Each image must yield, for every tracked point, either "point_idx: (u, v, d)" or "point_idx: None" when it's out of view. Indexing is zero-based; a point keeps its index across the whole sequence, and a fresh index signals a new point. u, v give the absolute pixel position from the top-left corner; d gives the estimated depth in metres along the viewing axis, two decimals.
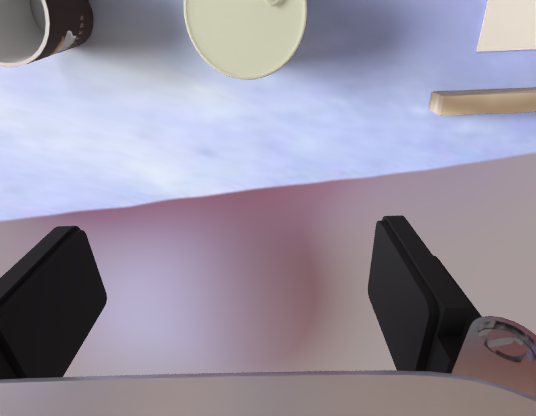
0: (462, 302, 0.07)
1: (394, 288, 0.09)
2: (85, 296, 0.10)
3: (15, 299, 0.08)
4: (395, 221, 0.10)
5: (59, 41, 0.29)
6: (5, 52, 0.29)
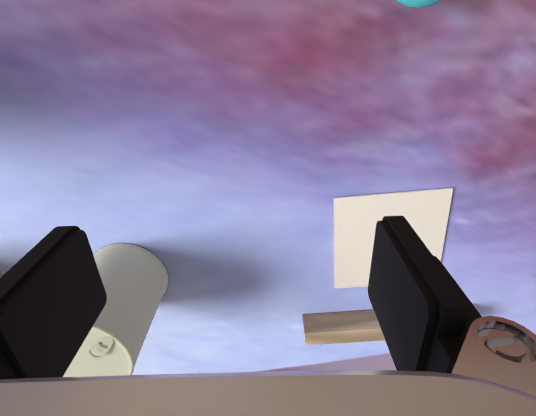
0: (462, 301, 0.07)
1: (394, 288, 0.09)
2: (85, 296, 0.10)
3: (15, 299, 0.08)
4: (395, 221, 0.10)
5: None
6: None
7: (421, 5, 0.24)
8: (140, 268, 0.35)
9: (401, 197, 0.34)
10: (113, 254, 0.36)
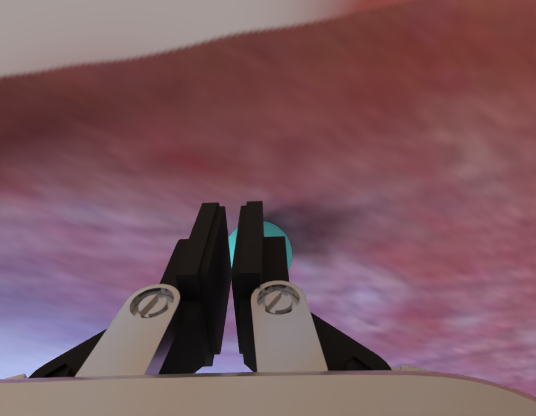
0: (256, 268, 0.08)
1: None
2: (226, 266, 0.11)
3: (208, 260, 0.09)
4: (251, 205, 0.11)
5: None
6: None
7: None
8: None
9: None
10: None
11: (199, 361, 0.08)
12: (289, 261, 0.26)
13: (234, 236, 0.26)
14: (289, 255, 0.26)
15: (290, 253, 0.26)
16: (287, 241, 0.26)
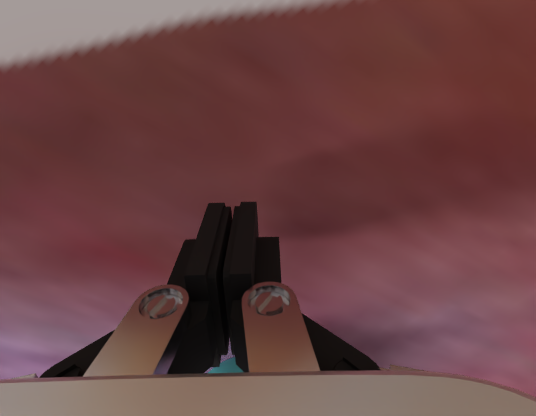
0: (247, 269, 0.08)
1: None
2: None
3: (216, 260, 0.09)
4: (245, 206, 0.11)
5: None
6: None
7: None
8: None
9: None
10: None
11: (207, 362, 0.08)
12: None
13: None
14: None
15: None
16: None
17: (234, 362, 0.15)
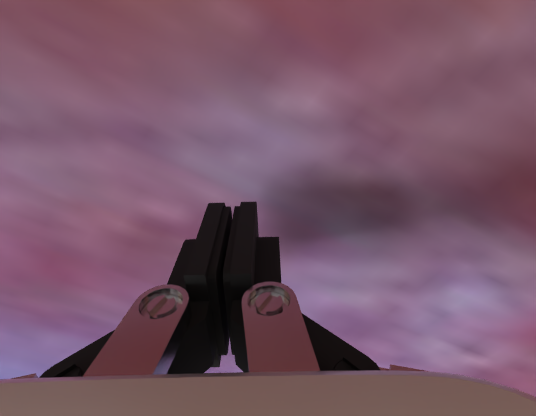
0: (247, 269, 0.08)
1: None
2: None
3: (216, 260, 0.09)
4: (245, 206, 0.11)
5: None
6: None
7: None
8: None
9: None
10: None
11: (207, 362, 0.08)
12: None
13: None
14: None
15: None
16: None
17: None
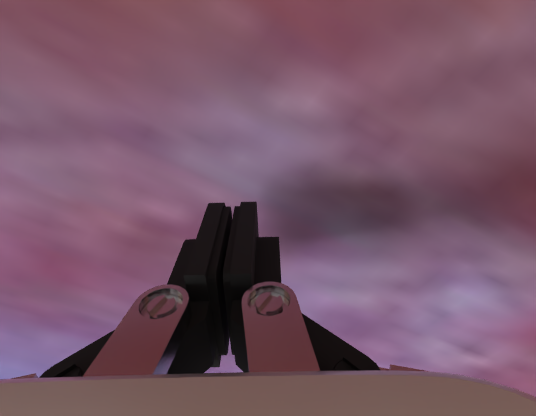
0: (247, 269, 0.08)
1: None
2: None
3: (216, 260, 0.09)
4: (245, 206, 0.11)
5: None
6: None
7: None
8: None
9: None
10: None
11: (207, 362, 0.08)
12: None
13: None
14: None
15: None
16: None
17: None
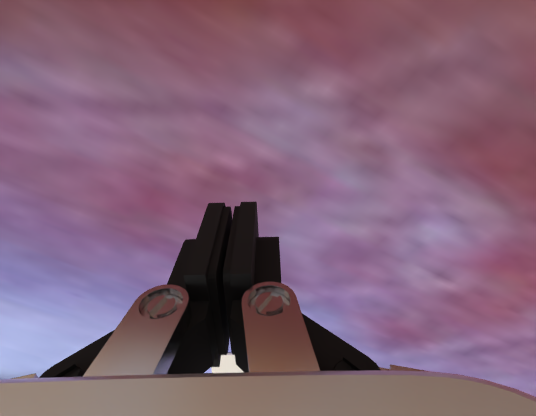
0: (247, 269, 0.08)
1: None
2: None
3: (216, 260, 0.09)
4: (245, 206, 0.11)
5: None
6: None
7: None
8: None
9: None
10: None
11: (207, 362, 0.08)
12: None
13: None
14: None
15: None
16: None
17: None
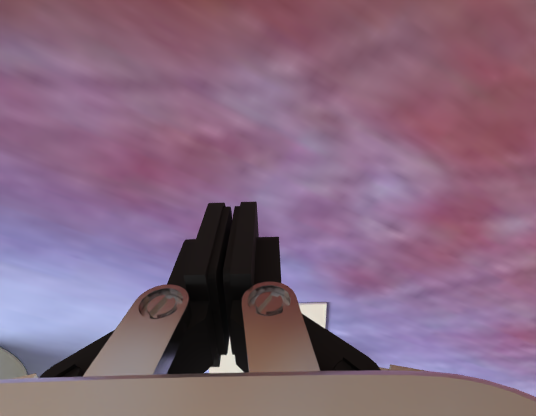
0: (247, 269, 0.08)
1: None
2: None
3: (216, 260, 0.09)
4: (245, 206, 0.11)
5: None
6: None
7: None
8: None
9: None
10: None
11: (207, 362, 0.08)
12: None
13: None
14: None
15: None
16: None
17: None
